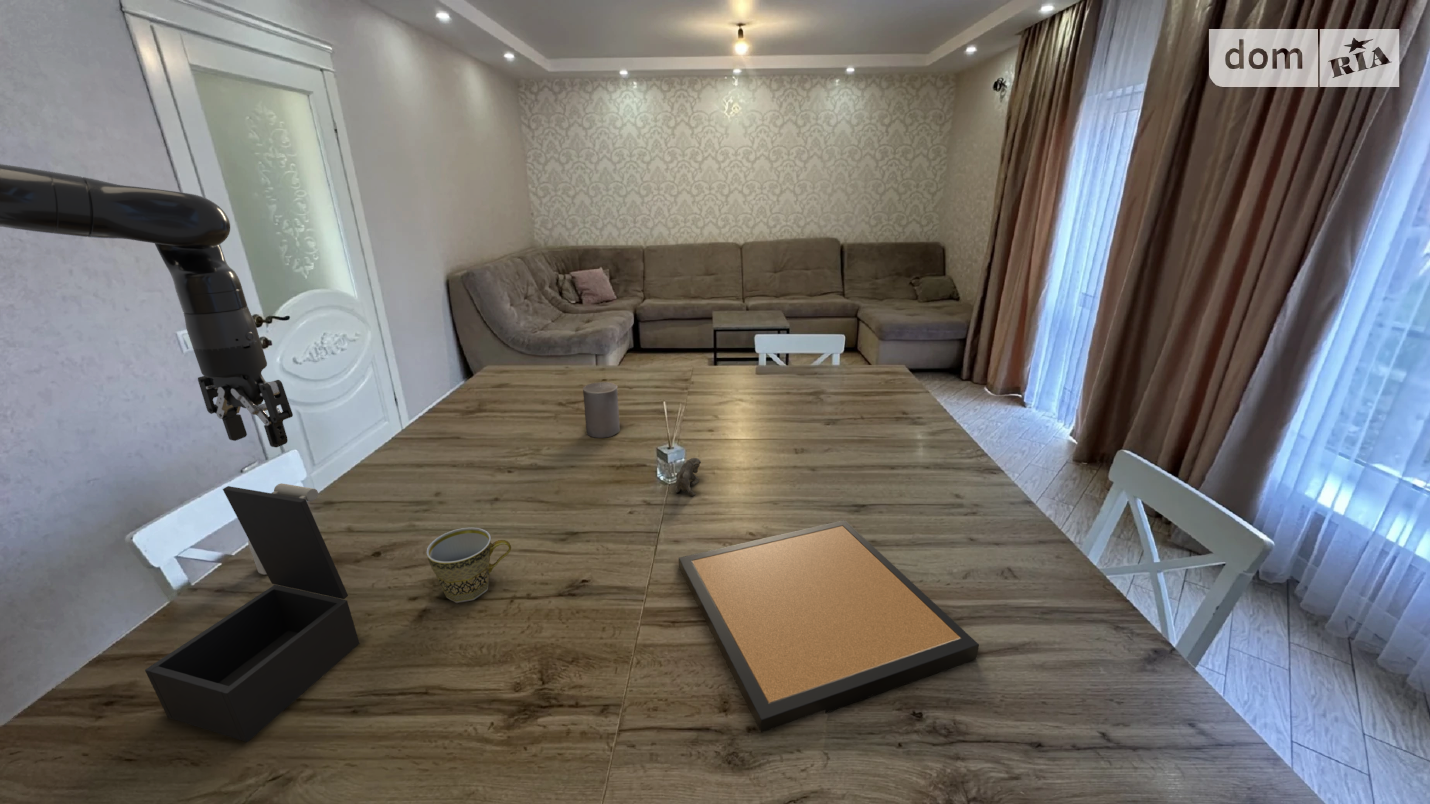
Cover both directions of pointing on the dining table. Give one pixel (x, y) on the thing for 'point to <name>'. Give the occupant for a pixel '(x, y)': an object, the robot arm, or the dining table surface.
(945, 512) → the dining table surface
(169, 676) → the black box
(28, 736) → the dining table surface
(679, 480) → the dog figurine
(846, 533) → the cork board
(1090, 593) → the dining table surface
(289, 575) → the box lid
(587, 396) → the pillar candle
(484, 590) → the ceramic cup
